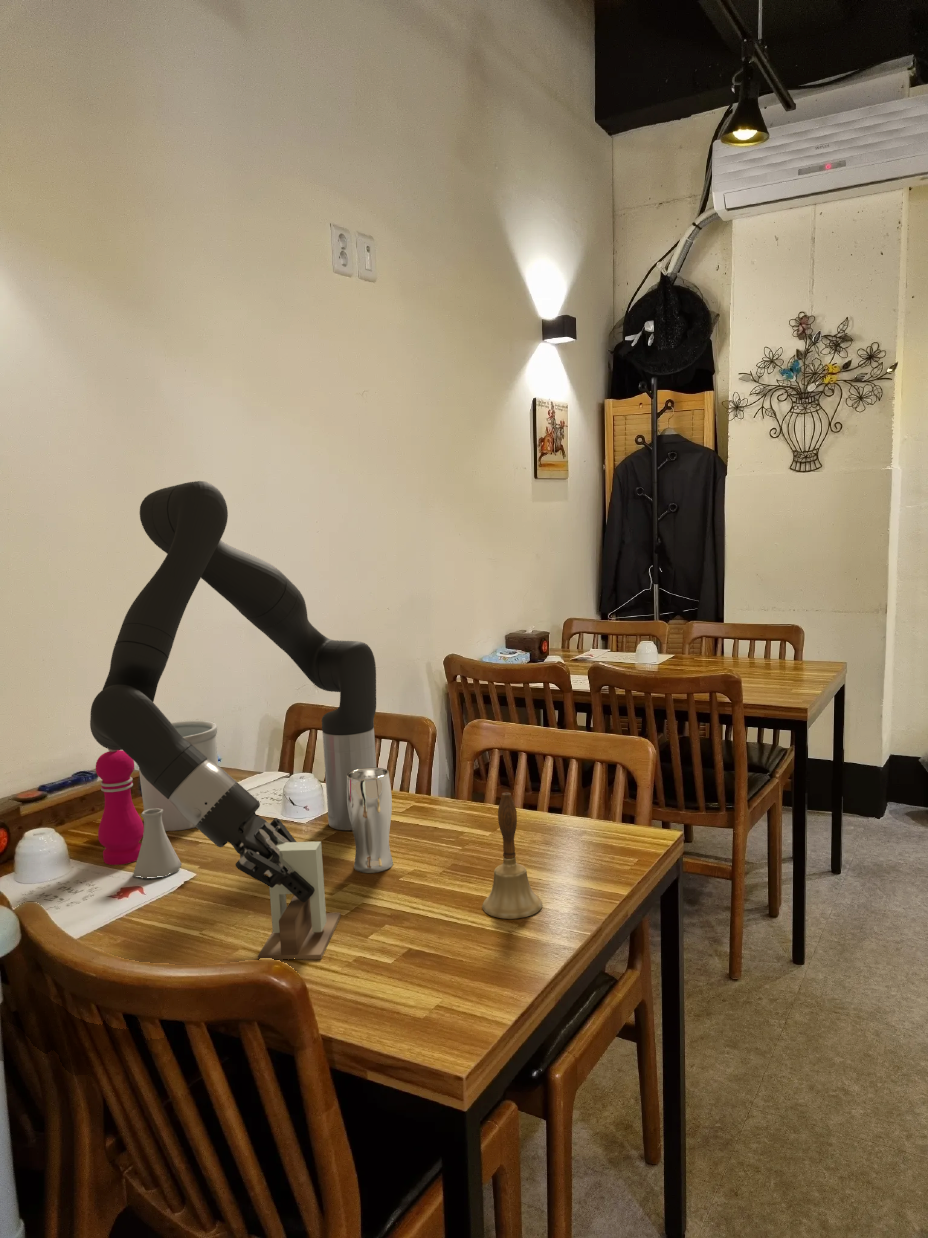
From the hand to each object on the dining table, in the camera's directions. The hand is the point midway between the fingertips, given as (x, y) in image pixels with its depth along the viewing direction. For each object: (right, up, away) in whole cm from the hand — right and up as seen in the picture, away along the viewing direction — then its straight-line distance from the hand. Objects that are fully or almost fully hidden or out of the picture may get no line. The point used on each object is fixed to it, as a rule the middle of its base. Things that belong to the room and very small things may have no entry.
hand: (312, 890), depth 116 cm
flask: (-29, -5, +27) cm, 40 cm away
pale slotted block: (-2, -5, +1) cm, 5 cm away
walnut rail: (-2, -6, +1) cm, 7 cm away
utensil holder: (-33, -3, +53) cm, 63 cm away
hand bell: (+26, -5, +7) cm, 28 cm away
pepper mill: (-37, -5, +34) cm, 51 cm away
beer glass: (+5, -4, +24) cm, 25 cm away
